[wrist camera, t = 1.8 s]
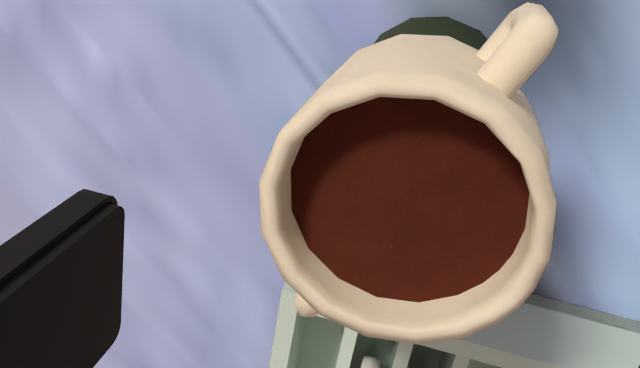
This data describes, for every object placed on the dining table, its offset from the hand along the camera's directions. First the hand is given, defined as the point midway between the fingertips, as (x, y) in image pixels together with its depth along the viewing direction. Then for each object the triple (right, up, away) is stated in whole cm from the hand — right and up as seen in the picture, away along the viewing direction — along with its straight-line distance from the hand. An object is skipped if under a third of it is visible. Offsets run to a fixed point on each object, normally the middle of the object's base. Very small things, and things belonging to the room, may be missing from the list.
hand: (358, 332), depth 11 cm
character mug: (+4, +7, +15) cm, 17 cm away
